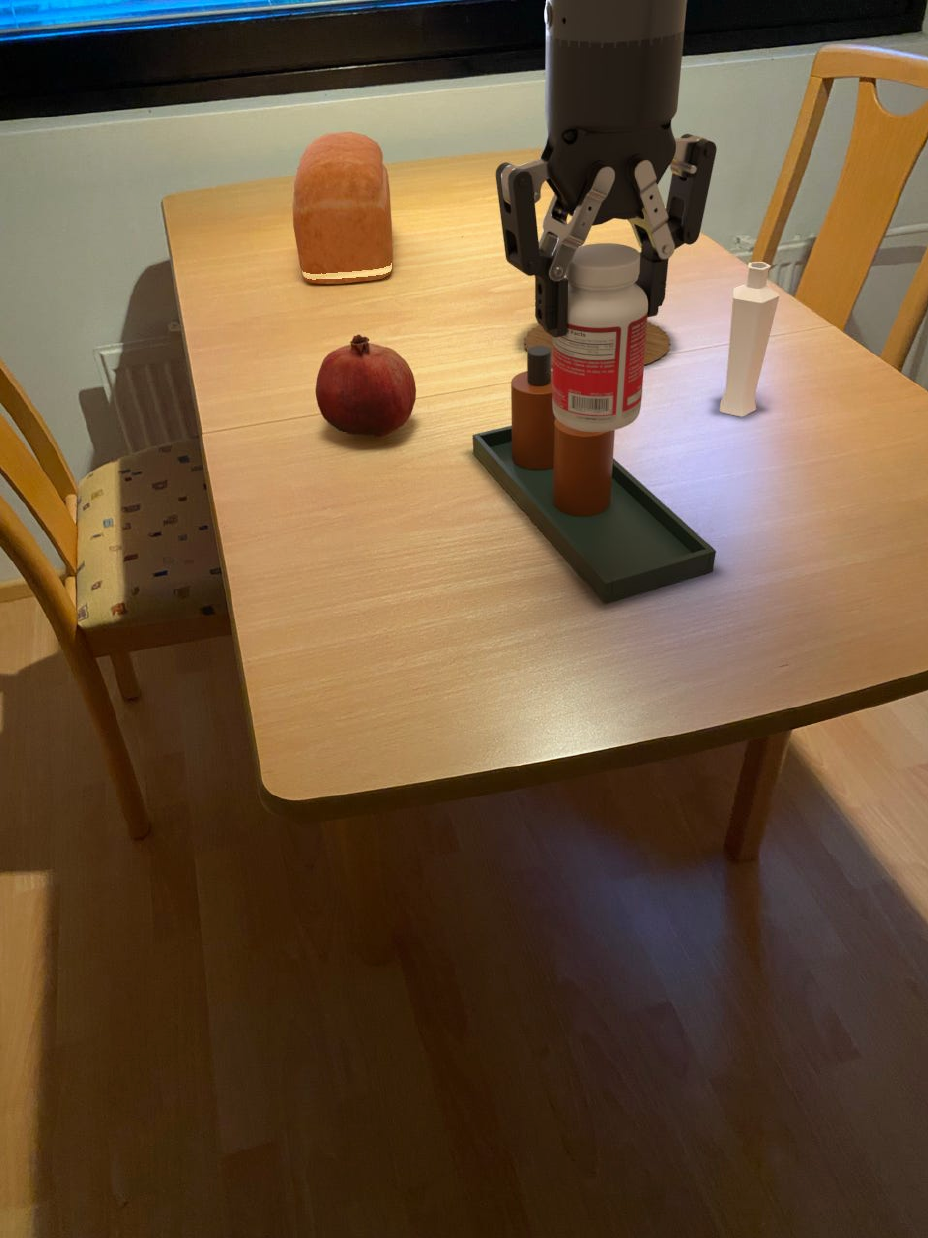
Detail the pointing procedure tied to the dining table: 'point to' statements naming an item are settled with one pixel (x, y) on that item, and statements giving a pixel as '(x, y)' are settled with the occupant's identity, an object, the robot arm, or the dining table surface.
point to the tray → (603, 527)
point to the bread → (342, 208)
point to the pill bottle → (601, 341)
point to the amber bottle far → (533, 412)
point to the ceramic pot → (653, 346)
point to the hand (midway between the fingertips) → (600, 322)
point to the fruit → (365, 389)
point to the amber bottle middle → (582, 470)
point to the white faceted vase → (748, 339)
